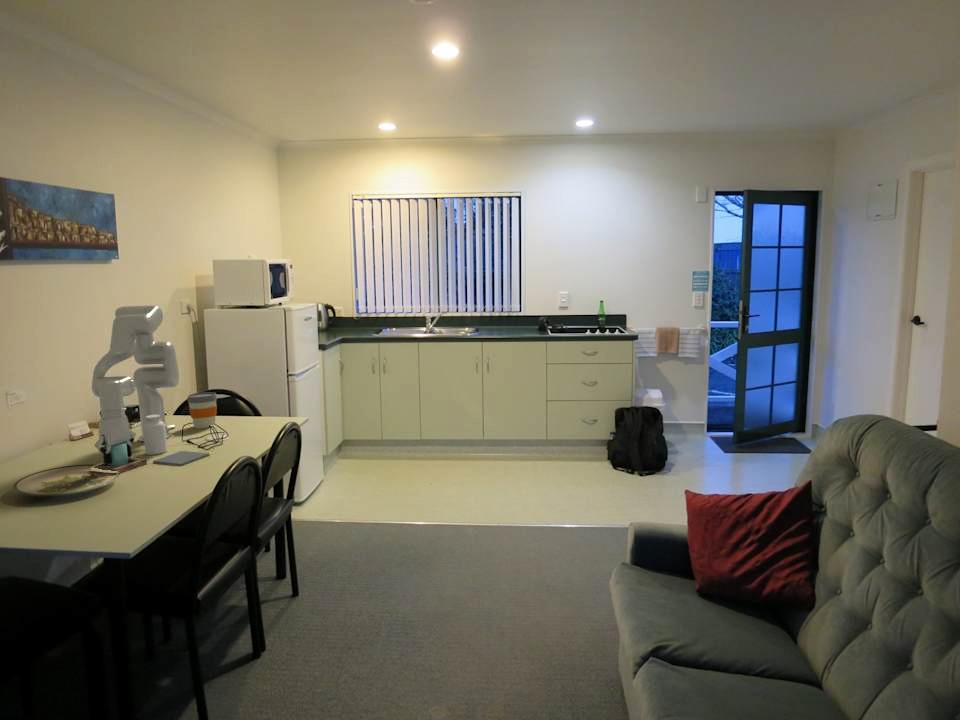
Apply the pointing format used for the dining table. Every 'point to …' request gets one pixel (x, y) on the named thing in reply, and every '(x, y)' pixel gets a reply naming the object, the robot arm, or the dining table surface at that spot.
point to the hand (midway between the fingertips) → (118, 459)
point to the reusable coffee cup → (203, 409)
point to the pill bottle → (154, 435)
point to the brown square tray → (132, 464)
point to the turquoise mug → (119, 455)
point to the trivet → (181, 458)
